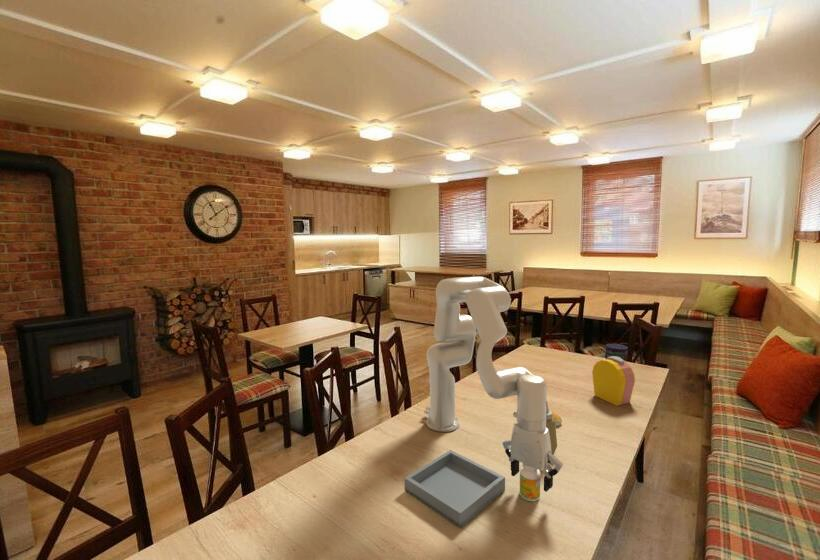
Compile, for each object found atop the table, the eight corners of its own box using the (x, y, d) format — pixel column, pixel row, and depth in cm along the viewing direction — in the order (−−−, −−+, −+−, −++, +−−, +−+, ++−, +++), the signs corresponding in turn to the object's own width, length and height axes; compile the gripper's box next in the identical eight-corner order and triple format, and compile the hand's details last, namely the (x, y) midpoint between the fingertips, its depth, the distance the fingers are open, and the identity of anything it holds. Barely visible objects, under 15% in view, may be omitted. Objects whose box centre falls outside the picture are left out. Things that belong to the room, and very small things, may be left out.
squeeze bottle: (540, 462, 123) (541, 408, 121) (526, 449, 131) (527, 397, 128) (562, 458, 125) (563, 404, 123) (547, 445, 133) (548, 394, 131)
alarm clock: (634, 403, 163) (636, 361, 161) (620, 407, 160) (622, 364, 158) (605, 390, 177) (606, 351, 175) (591, 393, 174) (592, 354, 172)
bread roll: (551, 415, 155) (551, 405, 154) (565, 426, 146) (565, 415, 146) (532, 417, 153) (532, 408, 152) (545, 428, 144) (545, 418, 144)
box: (404, 491, 110) (404, 477, 110) (450, 461, 124) (450, 449, 124) (460, 528, 96) (460, 513, 96) (504, 490, 110) (505, 477, 109)
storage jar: (599, 372, 200) (601, 344, 198) (615, 370, 202) (616, 342, 201) (615, 379, 190) (616, 349, 188) (631, 377, 193) (632, 347, 191)
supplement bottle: (515, 495, 108) (516, 462, 106) (525, 486, 111) (526, 454, 110) (534, 504, 104) (534, 470, 103) (543, 495, 108) (544, 462, 106)
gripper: (496, 416, 109) (496, 474, 110) (555, 437, 96) (555, 502, 98) (510, 407, 114) (510, 463, 116) (569, 427, 101) (568, 488, 103)
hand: (530, 481), depth 107 cm, fingers open, 9 cm apart
